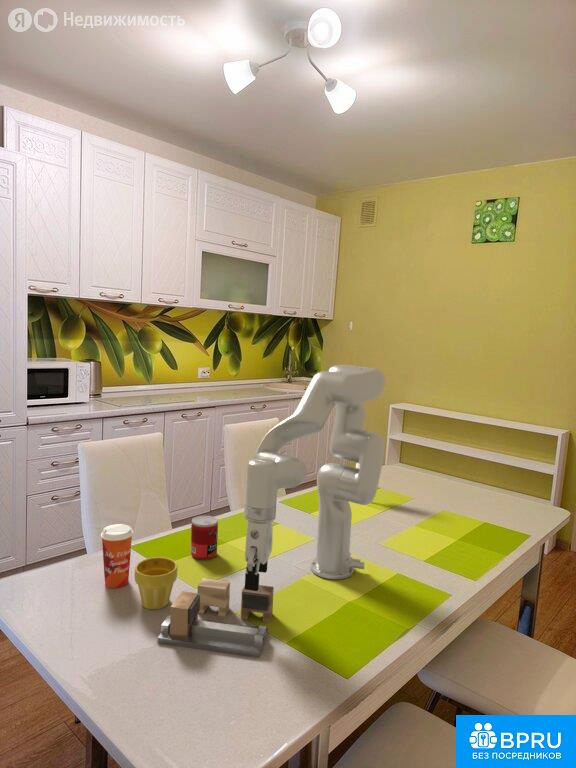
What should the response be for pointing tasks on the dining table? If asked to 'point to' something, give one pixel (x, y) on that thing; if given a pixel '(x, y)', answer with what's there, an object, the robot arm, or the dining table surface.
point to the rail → (215, 643)
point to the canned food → (204, 537)
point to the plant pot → (155, 581)
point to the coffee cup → (116, 554)
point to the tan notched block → (214, 595)
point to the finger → (257, 602)
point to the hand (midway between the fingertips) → (256, 580)
